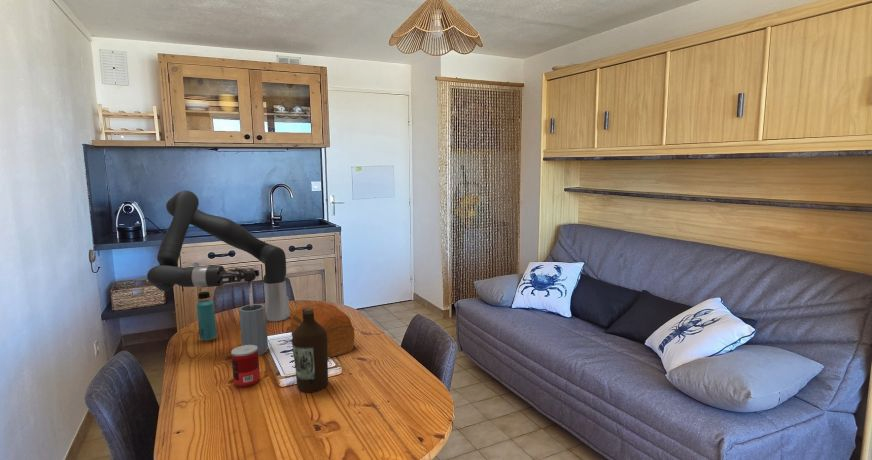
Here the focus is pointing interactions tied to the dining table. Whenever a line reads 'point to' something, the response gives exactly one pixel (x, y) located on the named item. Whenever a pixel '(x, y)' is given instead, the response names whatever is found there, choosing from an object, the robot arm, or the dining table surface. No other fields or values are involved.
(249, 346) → the canned food
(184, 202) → the robot arm
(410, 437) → the dining table surface
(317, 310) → the bread
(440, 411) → the dining table surface
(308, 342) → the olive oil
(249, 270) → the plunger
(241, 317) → the grey utensil holder
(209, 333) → the beverage bottle
